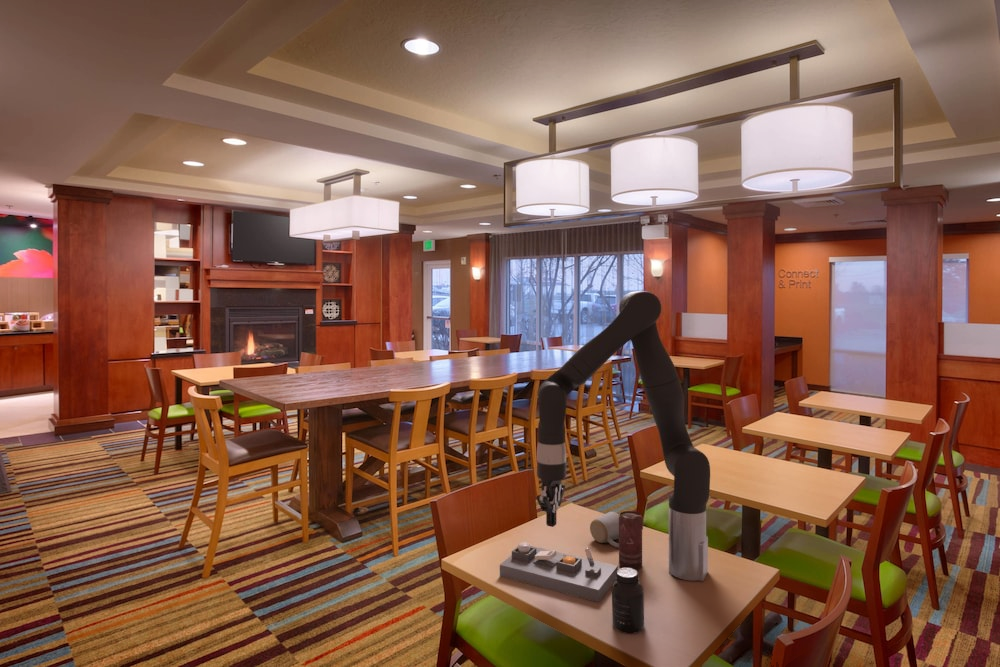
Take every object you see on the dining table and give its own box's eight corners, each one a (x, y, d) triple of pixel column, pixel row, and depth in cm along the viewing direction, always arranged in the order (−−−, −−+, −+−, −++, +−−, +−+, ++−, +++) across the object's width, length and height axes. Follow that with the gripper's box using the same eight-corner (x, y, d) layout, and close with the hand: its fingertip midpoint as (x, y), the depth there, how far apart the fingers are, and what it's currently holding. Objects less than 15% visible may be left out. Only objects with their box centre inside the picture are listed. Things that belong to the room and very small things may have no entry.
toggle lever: (595, 565, 140) (589, 546, 141) (594, 567, 139) (587, 548, 140) (591, 566, 141) (585, 547, 141) (589, 568, 140) (583, 549, 140)
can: (643, 571, 147) (643, 519, 146) (619, 569, 148) (618, 517, 147) (642, 561, 153) (642, 511, 152) (618, 559, 154) (618, 509, 153)
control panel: (617, 577, 144) (617, 558, 144) (598, 602, 132) (598, 581, 132) (525, 555, 158) (524, 537, 157) (499, 575, 146) (499, 557, 145)
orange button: (577, 564, 144) (577, 557, 144) (572, 569, 141) (572, 562, 141) (565, 561, 145) (565, 555, 145) (560, 566, 143) (560, 559, 142)
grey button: (532, 550, 150) (532, 543, 150) (526, 555, 147) (526, 548, 147) (521, 548, 152) (521, 541, 152) (516, 552, 149) (515, 545, 149)
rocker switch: (556, 554, 147) (555, 550, 147) (551, 559, 144) (550, 555, 144) (540, 554, 149) (539, 550, 149) (535, 559, 146) (534, 555, 146)
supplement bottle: (621, 613, 127) (620, 561, 126) (649, 624, 123) (649, 570, 122) (606, 627, 122) (606, 573, 121) (635, 638, 117) (635, 582, 117)
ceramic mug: (587, 539, 168) (588, 514, 167) (606, 532, 173) (606, 508, 172) (615, 552, 159) (615, 525, 159) (633, 544, 164) (634, 518, 164)
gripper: (554, 467, 136) (554, 537, 137) (574, 455, 148) (574, 519, 149) (526, 463, 140) (526, 531, 141) (549, 451, 152) (549, 514, 152)
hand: (551, 525), depth 145 cm, fingers closed
